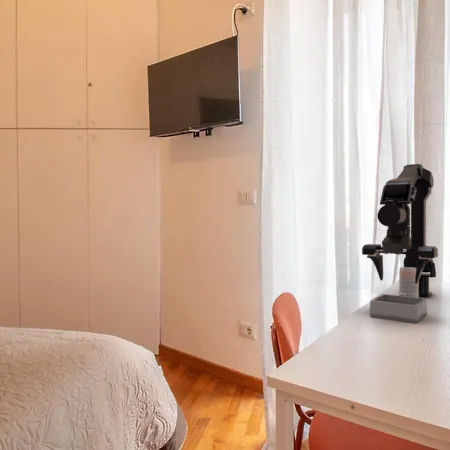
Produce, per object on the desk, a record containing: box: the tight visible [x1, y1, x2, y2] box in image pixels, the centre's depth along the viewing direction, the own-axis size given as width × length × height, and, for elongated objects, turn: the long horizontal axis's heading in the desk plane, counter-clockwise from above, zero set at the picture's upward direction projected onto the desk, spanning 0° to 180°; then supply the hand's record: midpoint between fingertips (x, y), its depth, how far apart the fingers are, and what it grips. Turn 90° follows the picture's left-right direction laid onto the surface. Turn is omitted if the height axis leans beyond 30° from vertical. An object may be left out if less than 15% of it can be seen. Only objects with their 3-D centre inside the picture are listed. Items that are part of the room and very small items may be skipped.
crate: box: [369, 293, 428, 324], centre depth 113 cm, size 12×12×4 cm
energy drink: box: [398, 266, 420, 298], centre depth 123 cm, size 5×5×12 cm
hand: (398, 281), depth 113 cm, fingers open, 9 cm apart
